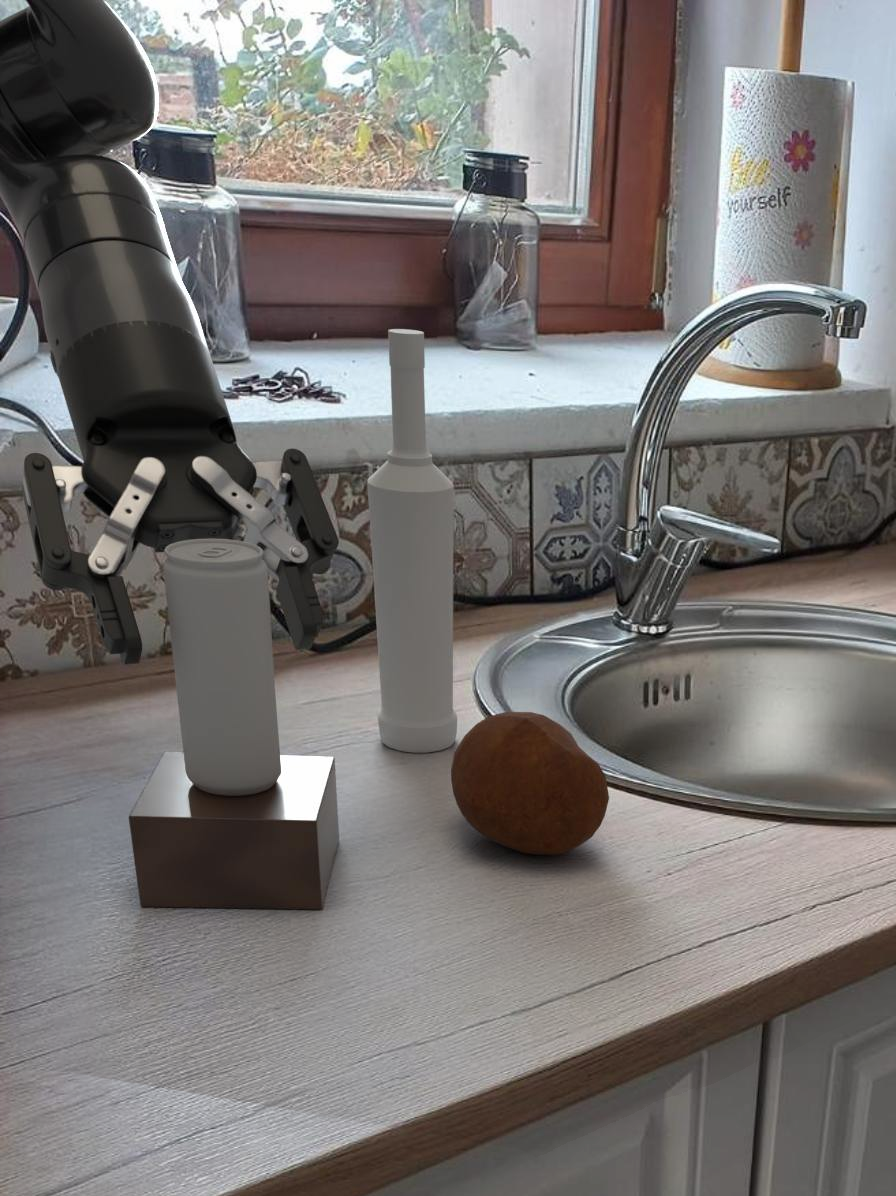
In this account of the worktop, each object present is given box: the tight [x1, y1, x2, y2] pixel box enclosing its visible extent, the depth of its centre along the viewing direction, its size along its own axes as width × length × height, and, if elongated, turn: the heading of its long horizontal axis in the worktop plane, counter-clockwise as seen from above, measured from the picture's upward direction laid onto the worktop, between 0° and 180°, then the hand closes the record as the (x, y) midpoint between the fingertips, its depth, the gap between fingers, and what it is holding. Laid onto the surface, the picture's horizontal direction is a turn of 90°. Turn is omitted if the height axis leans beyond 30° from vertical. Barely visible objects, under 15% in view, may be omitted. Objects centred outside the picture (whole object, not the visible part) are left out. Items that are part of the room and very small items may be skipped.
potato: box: [450, 711, 610, 856], centre depth 87 cm, size 8×11×8 cm
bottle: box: [366, 328, 458, 754], centre depth 95 cm, size 5×5×25 cm
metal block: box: [128, 751, 340, 910], centre depth 81 cm, size 9×9×5 cm
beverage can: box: [162, 539, 281, 796], centre depth 77 cm, size 5×5×12 cm
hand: (223, 649), depth 76 cm, fingers open, 8 cm apart
